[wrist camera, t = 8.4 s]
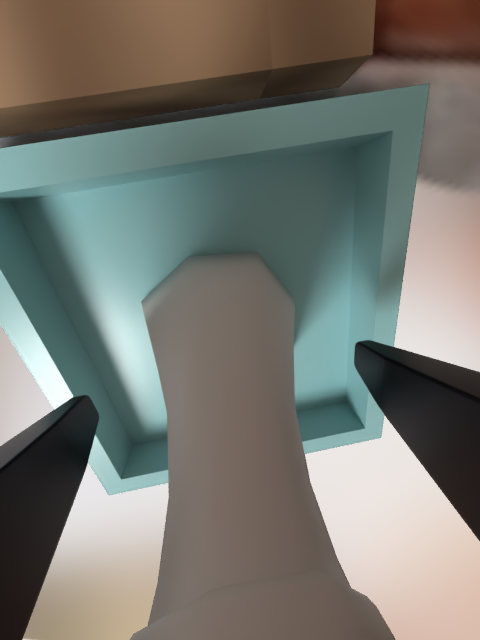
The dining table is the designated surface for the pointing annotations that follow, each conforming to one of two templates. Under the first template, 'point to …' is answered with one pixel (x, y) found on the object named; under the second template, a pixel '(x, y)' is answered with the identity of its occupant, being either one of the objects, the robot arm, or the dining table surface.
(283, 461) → the flask
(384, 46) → the dining table surface
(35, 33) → the frame
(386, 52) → the dining table surface
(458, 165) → the dining table surface
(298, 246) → the teal tray
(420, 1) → the dining table surface
